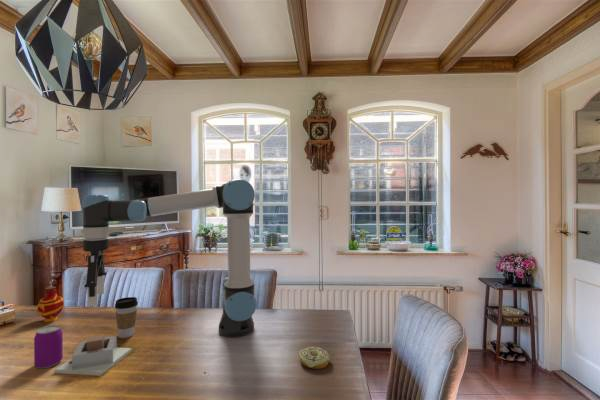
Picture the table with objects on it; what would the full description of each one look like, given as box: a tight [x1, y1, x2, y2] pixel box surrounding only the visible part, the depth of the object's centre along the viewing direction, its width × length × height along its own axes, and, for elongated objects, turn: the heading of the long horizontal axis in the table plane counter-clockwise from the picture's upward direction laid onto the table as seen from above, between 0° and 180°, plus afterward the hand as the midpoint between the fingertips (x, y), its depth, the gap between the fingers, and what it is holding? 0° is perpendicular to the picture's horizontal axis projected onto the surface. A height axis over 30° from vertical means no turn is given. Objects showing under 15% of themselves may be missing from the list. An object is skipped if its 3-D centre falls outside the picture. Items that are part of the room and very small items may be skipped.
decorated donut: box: [298, 346, 331, 370], centre depth 111 cm, size 10×11×4 cm
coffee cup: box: [114, 296, 138, 339], centre depth 131 cm, size 8×8×15 cm
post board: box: [54, 334, 133, 377], centre depth 110 cm, size 16×16×8 cm
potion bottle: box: [36, 285, 65, 323], centre depth 147 cm, size 10×10×15 cm
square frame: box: [71, 335, 118, 370], centre depth 110 cm, size 12×12×4 cm
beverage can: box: [33, 324, 64, 369], centre depth 109 cm, size 8×8×12 cm
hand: (96, 299), depth 110 cm, fingers open, 13 cm apart
